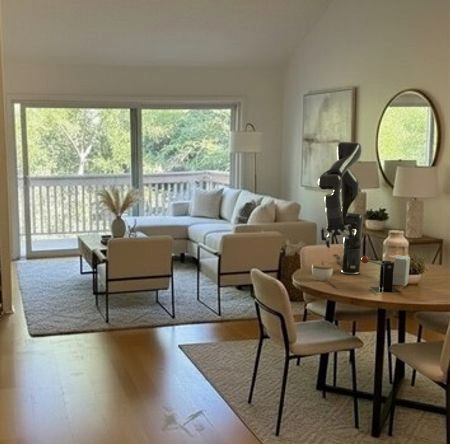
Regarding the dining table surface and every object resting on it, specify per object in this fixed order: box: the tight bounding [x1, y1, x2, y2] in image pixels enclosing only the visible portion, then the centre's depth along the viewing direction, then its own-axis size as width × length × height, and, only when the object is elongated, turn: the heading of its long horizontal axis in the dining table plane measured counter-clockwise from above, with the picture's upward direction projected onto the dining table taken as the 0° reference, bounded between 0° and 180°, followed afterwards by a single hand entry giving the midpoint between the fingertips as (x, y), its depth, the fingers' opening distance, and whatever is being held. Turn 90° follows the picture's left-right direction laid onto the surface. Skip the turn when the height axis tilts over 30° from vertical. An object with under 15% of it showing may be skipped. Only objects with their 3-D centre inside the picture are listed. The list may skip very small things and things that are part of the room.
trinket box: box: [311, 261, 334, 282], centre depth 296 cm, size 11×11×9 cm
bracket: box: [369, 260, 403, 294], centre depth 271 cm, size 12×10×15 cm
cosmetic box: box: [393, 254, 411, 287], centre depth 282 cm, size 8×6×15 cm
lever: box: [360, 255, 386, 267], centre depth 270 cm, size 14×4×4 cm, turn 88°
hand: (338, 246), depth 274 cm, fingers open, 8 cm apart
